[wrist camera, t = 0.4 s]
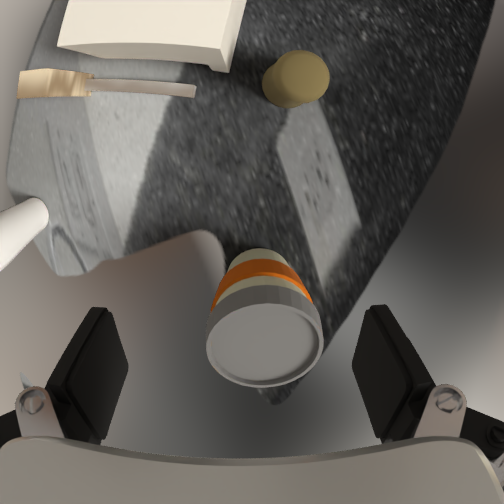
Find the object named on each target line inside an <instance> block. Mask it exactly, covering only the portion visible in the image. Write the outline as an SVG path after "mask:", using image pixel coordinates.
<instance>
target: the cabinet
mask: <svg viewBox="0 0 504 504" xmlns="http://www.w3.org/2000/svg"><path fill="white" fill-rule="evenodd" d="M245 4H246V0H69V2H68V5H67V8H66V12H65V15H64V19H63V23H62V26H61V30H60V34H59V38H58V43H57V47H61V48H65V49H69V50H73V51H77V52H81V53H85V54H89V55H92V56H96V57H99V58H103V59H150V60H167V61H179V62H189V63H198V64H207V65H209V67H210V68H211V69H212V71H219V72H225V73H229V71H230V67H231V62H232V58H233V53H234V49H235V45H236V41H237V36H238V32H239V28H240V24H241V20H242V16H243V12H244V8H245Z"/></svg>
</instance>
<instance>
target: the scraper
mask: <svg viewBox="0 0 504 504" xmlns="http://www.w3.org/2000/svg"><path fill="white" fill-rule="evenodd" d="M93 77H94V74H88V73H81V72H74V71H66V70H58V69H49V68H46V69H36V70H28V71H21V72H20V76H19V83H18V90H17V99H18V98H33V97H57V96H90V95H91V91H117V92H136V93H150V94H162V95H172V96H181V97H190V98H194V96H195V91H196V86H195V85H189V84H180V83H170V82H159V81H145V80H124V79H93Z"/></svg>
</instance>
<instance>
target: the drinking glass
mask: <svg viewBox="0 0 504 504" xmlns="http://www.w3.org/2000/svg"><path fill="white" fill-rule="evenodd" d="M48 220H49V214H48V210H47V207H46V205H45V204H44V203H43V202H42V201H41V200H40V199H38V198H29V199H27V200H26V201H24V202H22V203H19V204H17V205H15V206H13V207H10V208H8V209H6V210H3V211H1V212H0V271H2V270H3V269H4V268H5V267H6V266H7V265H8V264H9V263H10V262H11V261H12V260H13V259H14V258H15V257H16V256H17V254H18V253H19V252H20V251H21V250H22V249H23V248H24V247H25V246H26V245H27V244H28V243H29V242H30V241H31V240H32V239H33V238H34V237H35V236H36V235H37V234H38V233H39V232H41V231H42V230H43V229H44V228H45V227H46V226H47V224H48Z"/></svg>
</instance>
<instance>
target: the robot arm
mask: <svg viewBox="0 0 504 504" xmlns="http://www.w3.org/2000/svg"><path fill="white" fill-rule="evenodd" d="M352 369H353V372H354V375H355V378H356V381H357V383H358V386H359V389H360V392H361V395H362V398H363V401H364V403H365V407H366V409H367V412H368V415H369V418H370V421H371V424H372V427H373V430H374V433H375V436H376V437H377V438H380V439H381V442H382V444H381V445H375V446H369V447H364V448H358V449H352V450H346V451H338V452H331V453H324V454H315V455H305V456H293V457H279V458H257V459H256V458H254V459H221V458H196V457H182V456H170V455H160V454H152V453H144V452H137V451H130V450H124V449H118V448H112V447H107V446H101V445H100V443H101V440H102V439H103V440H104V439H105V438H106V436H107V433H108V430H109V426H110V423H111V420H112V417H113V414H114V411H115V407H116V405H117V402H118V399H119V396H120V393H121V389H122V387H123V384H124V381H125V378H126V375H127V372H128V362H127V359H126V356H125V353H124V350H123V347H122V344H121V341H120V338H119V335H118V331H117V328H116V325H115V321H114V318H113V315H112V313H111V312H108V310H107V308H103V307H92V308H91V309H90V310H89V312H88V314H87V315H86V316H85V318H84V320H83V322H82V323H81V325H80V326H79V328H78V329H77V331H76V333H75V334H74V336H73V338H72V339H71V341H70V343H69V344H68V346H67V348H66V350H65V351H64V353H63V355H62V356H61V359H60V360H59V362H58V364H57V365H56V367H55V369H54V371H53V372H52V374H51V376H50V378H49V380H48V382H47V385H46V387H45V388H41V387H38V386H33V387H29V388H27V389H25V390H23V391H22V392H21V393H20V394H19V395H18V397H17V399H16V402H15V410H13V411H11V412H9V413H6V414H4V415H2V416H0V504H504V422H502V421H500V420H498V419H495V418H493V417H490V416H488V415H485V414H483V413H480V412H477V411H475V410H473V409H471V408H468V407H466V406H467V405H466V404H467V401H466V397H465V395H464V394H463V392H462V391H461V390H460V389H458V388H456V387H455V386H453V385H448V384H441V385H438V386H436V385H435V383H434V381H433V380H432V378H431V376H430V374H429V372H428V371H427V369H426V367H425V365H424V364H423V362H422V360H421V358H420V357H419V355H418V354H417V352H416V350H415V348H414V347H413V345H412V343H411V342H410V340H409V339H408V338H407V337H406V335H405V333H404V332H403V330H402V329H401V327H400V325H399V324H398V322H397V320H396V319H395V317H394V316H393V314H392V312H391V311H390V310H389V308H388V306H387V305H385V304H384V305H372V306H371V307H370V309H369V310H366V312H365V315H364V319H363V323H362V327H361V331H360V335H359V338H358V343H357V346H356V349H355V353H354V357H353V360H352Z"/></svg>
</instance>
